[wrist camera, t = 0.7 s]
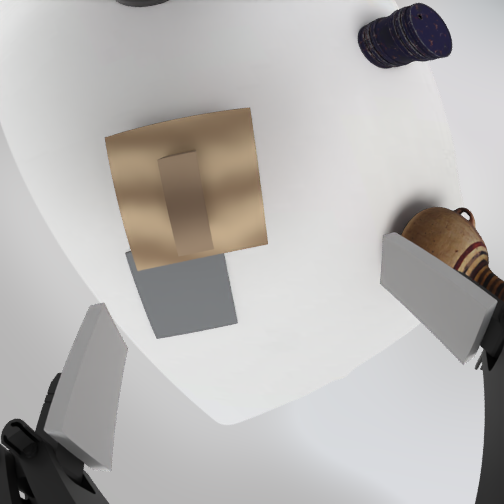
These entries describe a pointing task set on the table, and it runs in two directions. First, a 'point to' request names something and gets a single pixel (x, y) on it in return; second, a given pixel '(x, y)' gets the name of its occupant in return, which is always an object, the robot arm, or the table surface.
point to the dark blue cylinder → (405, 37)
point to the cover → (188, 187)
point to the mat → (186, 295)
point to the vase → (454, 244)
